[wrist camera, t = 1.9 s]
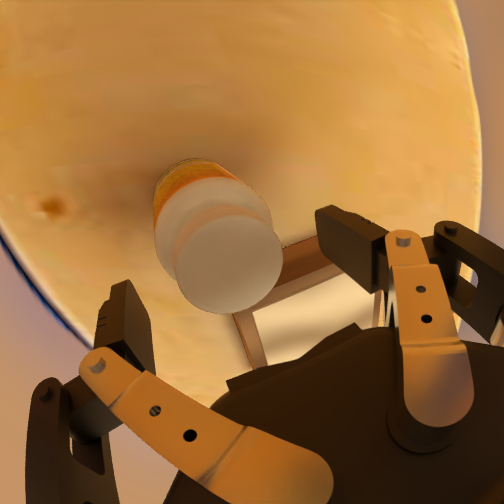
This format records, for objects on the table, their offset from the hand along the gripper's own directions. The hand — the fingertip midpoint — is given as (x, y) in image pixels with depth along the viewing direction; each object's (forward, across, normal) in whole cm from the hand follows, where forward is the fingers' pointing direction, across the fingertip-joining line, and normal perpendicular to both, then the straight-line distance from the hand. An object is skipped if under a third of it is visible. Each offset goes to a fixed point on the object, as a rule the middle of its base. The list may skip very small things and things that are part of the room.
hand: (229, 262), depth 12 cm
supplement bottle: (+9, 0, -1) cm, 9 cm away
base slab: (+8, -6, +12) cm, 15 cm away
